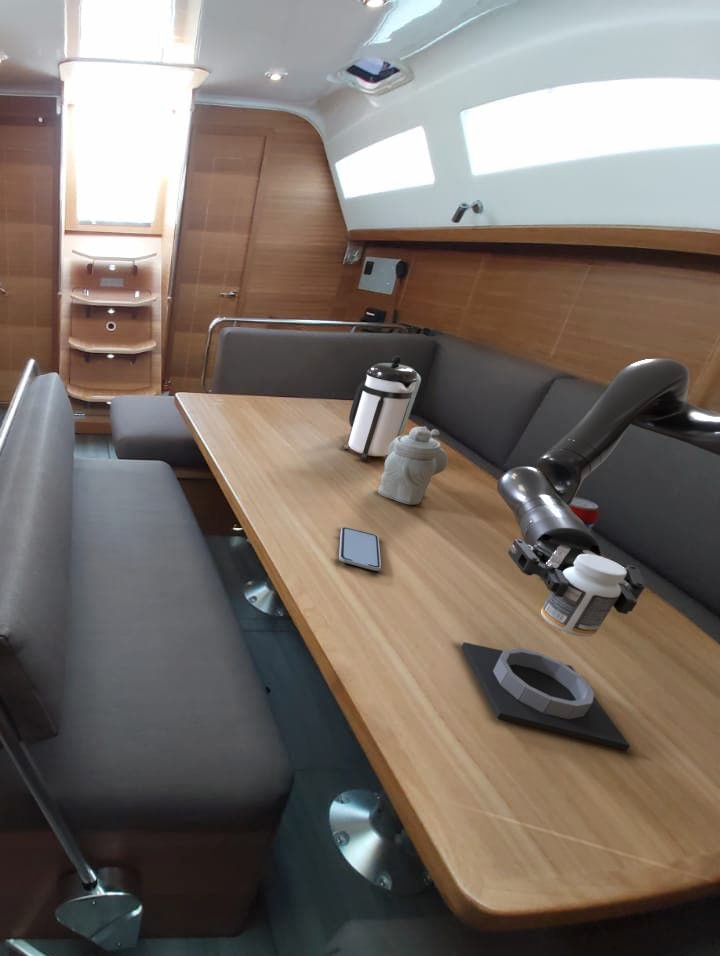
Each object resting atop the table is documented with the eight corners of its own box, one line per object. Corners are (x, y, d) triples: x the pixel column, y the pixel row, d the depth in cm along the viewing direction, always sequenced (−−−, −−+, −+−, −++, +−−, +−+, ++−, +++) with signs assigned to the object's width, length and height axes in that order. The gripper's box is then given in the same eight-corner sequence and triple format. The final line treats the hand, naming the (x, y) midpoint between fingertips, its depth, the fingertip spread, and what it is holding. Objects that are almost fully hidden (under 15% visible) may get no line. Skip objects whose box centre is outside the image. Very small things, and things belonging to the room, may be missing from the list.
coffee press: (401, 454, 154) (435, 356, 141) (387, 468, 143) (422, 364, 130) (343, 439, 164) (369, 347, 151) (325, 451, 154) (352, 353, 141)
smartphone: (378, 535, 108) (381, 569, 95) (377, 538, 108) (379, 573, 96) (341, 525, 110) (339, 558, 98) (340, 529, 111) (338, 562, 99)
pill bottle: (589, 620, 68) (627, 561, 64) (598, 645, 64) (639, 583, 60) (536, 603, 71) (569, 546, 67) (541, 626, 67) (577, 566, 62)
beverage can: (569, 564, 101) (598, 513, 96) (528, 549, 106) (554, 499, 101) (578, 554, 105) (606, 504, 100) (538, 539, 110) (563, 491, 104)
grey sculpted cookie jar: (412, 480, 136) (435, 414, 128) (454, 506, 123) (484, 435, 115) (355, 480, 135) (376, 414, 126) (392, 507, 121) (418, 435, 113)
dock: (568, 670, 75) (578, 653, 74) (626, 750, 63) (641, 732, 61) (461, 646, 79) (469, 629, 77) (497, 718, 67) (507, 699, 65)
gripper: (605, 572, 75) (654, 642, 62) (489, 544, 81) (511, 603, 68) (631, 529, 72) (689, 594, 58) (508, 504, 78) (535, 557, 64)
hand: (593, 598), depth 63 cm, fingers closed on pill bottle, 5 cm apart
